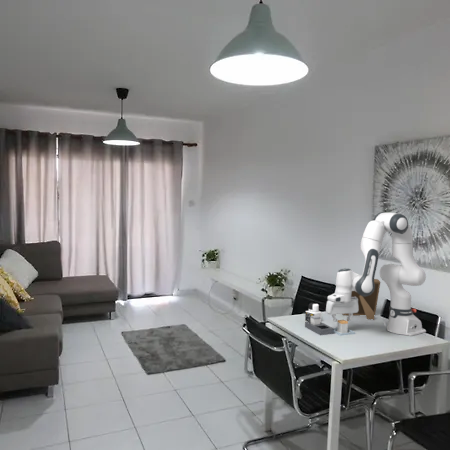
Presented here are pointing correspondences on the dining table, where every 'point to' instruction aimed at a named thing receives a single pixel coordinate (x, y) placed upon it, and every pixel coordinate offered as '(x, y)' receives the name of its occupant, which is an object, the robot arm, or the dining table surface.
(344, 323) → the plug
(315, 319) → the grey rectangular block
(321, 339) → the dining table surface
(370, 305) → the photo frame
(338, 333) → the tray
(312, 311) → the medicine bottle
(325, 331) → the square-holed metal block
